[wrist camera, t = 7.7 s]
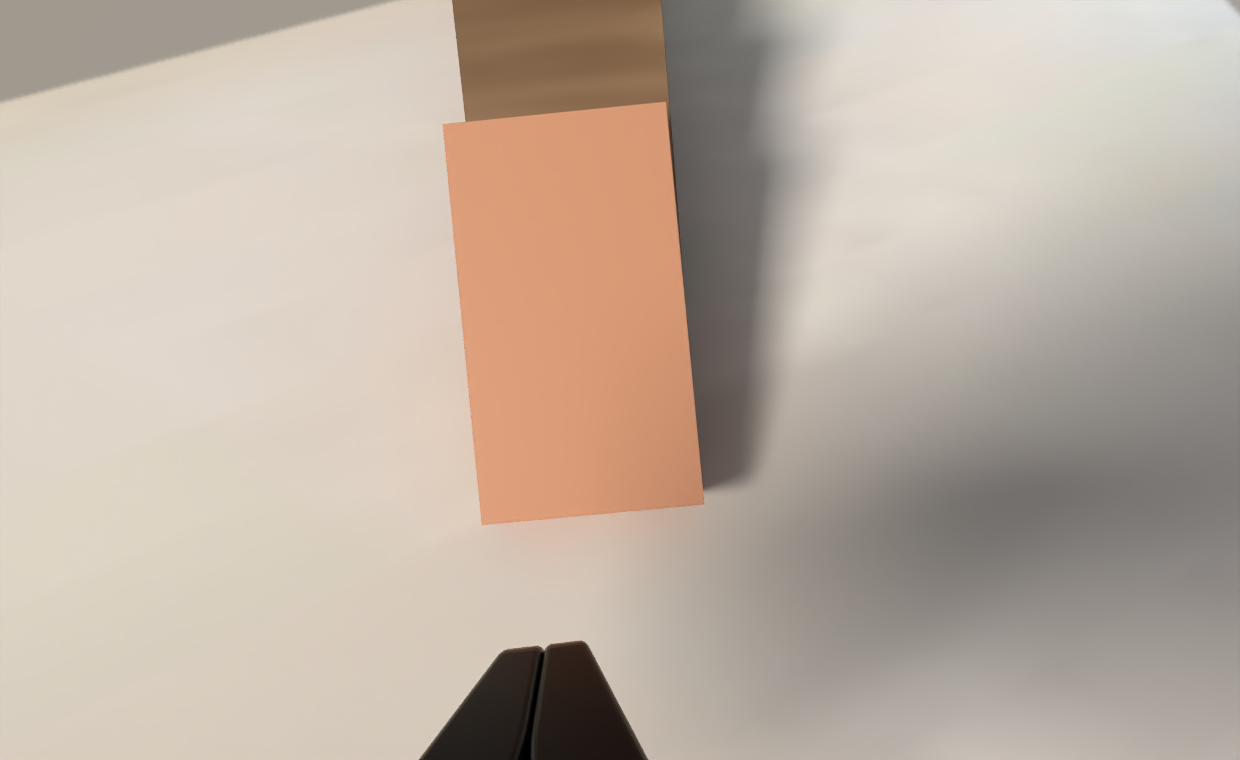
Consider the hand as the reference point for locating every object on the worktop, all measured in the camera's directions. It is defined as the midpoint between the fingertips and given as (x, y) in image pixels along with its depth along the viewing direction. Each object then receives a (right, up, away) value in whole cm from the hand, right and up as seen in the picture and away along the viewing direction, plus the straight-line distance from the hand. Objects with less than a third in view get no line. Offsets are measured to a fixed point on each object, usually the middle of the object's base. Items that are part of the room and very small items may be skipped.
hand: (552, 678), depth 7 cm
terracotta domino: (0, 0, +10) cm, 10 cm away
